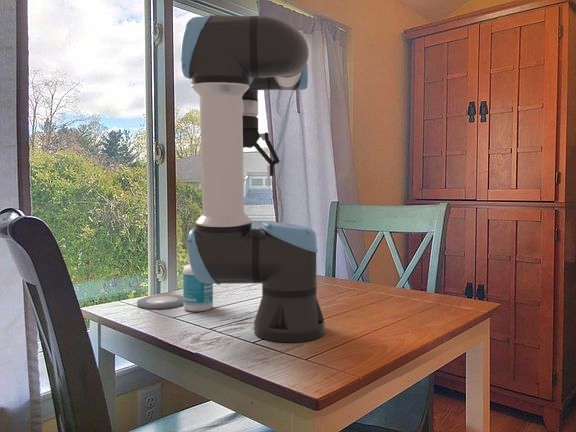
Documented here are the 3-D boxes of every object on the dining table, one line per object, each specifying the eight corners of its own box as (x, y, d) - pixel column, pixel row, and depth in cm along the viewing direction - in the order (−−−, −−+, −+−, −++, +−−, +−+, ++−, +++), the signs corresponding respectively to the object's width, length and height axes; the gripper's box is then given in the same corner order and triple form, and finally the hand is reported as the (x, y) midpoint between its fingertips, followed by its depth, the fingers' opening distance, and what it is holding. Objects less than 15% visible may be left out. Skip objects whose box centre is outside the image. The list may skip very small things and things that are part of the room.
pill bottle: (210, 312, 119) (209, 258, 118) (180, 312, 119) (179, 258, 118) (215, 305, 126) (214, 254, 125) (187, 305, 126) (186, 254, 126)
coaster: (192, 305, 125) (192, 302, 125) (141, 311, 120) (141, 308, 120) (180, 295, 137) (180, 292, 137) (133, 300, 131) (133, 297, 131)
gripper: (286, 118, 149) (286, 187, 150) (205, 118, 148) (206, 187, 149) (287, 115, 142) (287, 187, 143) (202, 114, 140) (203, 187, 141)
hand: (246, 187), depth 146 cm, fingers open, 13 cm apart
